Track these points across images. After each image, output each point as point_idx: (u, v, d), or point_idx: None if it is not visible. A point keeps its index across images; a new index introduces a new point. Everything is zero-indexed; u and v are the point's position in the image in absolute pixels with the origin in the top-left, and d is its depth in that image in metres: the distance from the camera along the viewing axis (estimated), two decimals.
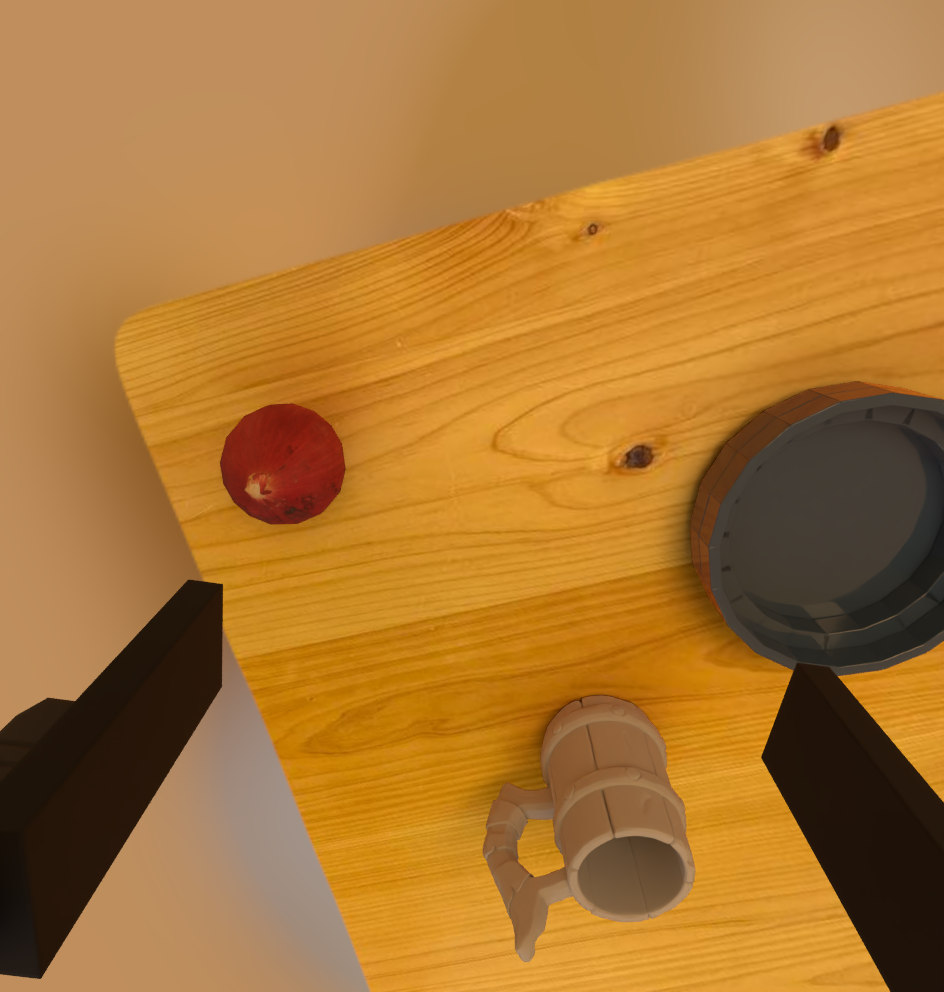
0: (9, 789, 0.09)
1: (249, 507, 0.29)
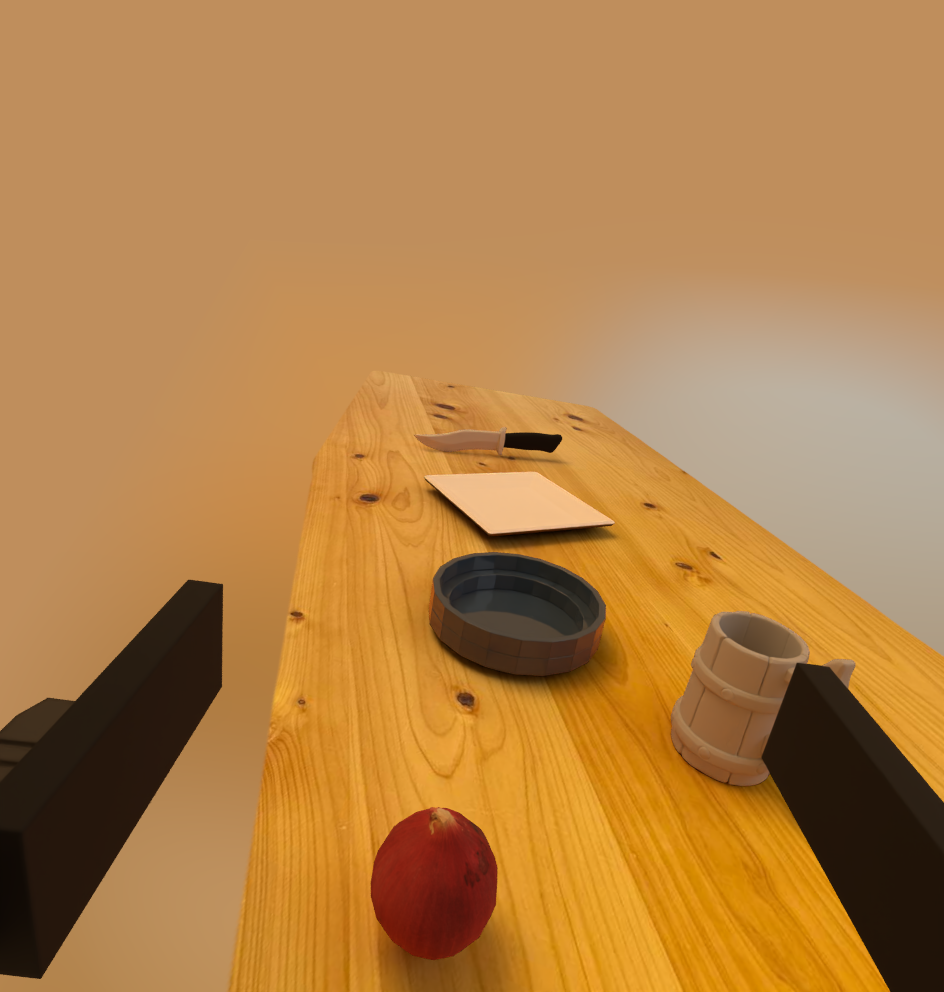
0: (9, 789, 0.09)
1: (466, 856, 0.28)
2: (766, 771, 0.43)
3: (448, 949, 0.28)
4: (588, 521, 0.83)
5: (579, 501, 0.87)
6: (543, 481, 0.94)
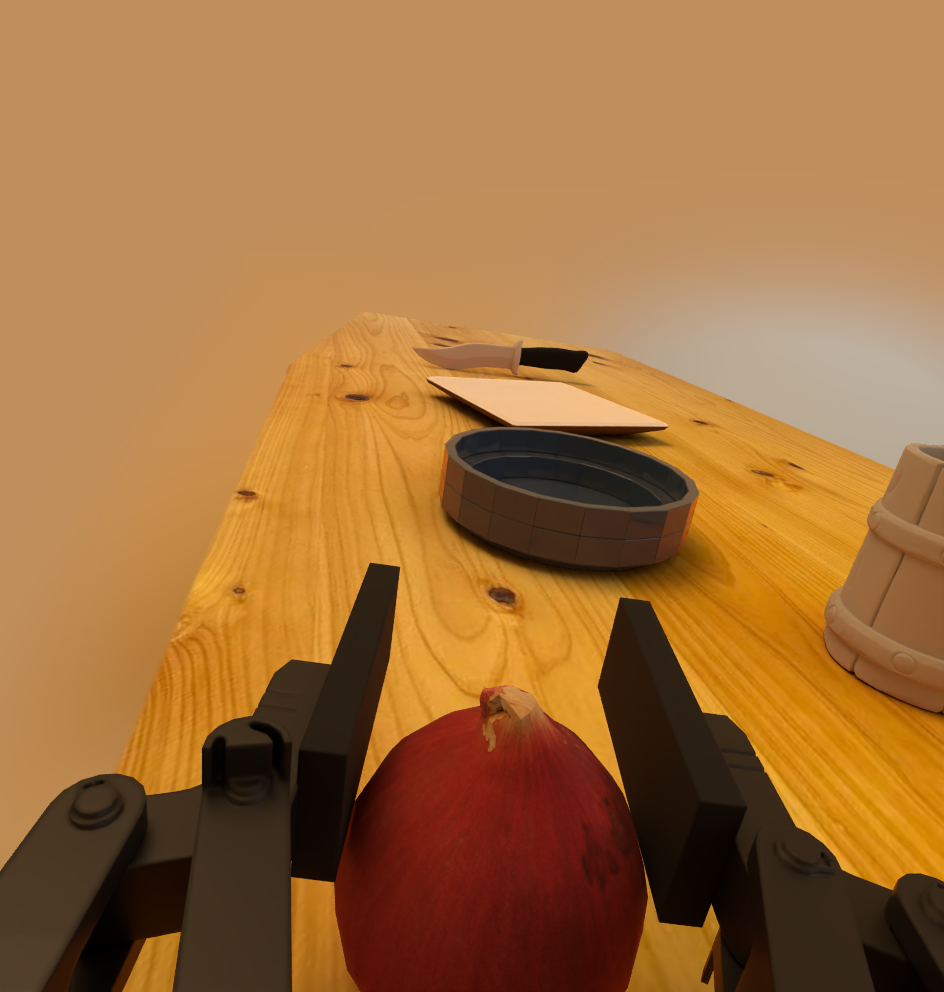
0: (321, 724, 0.10)
1: (583, 807, 0.11)
2: None
3: None
4: None
5: (620, 407, 0.70)
6: (572, 390, 0.76)
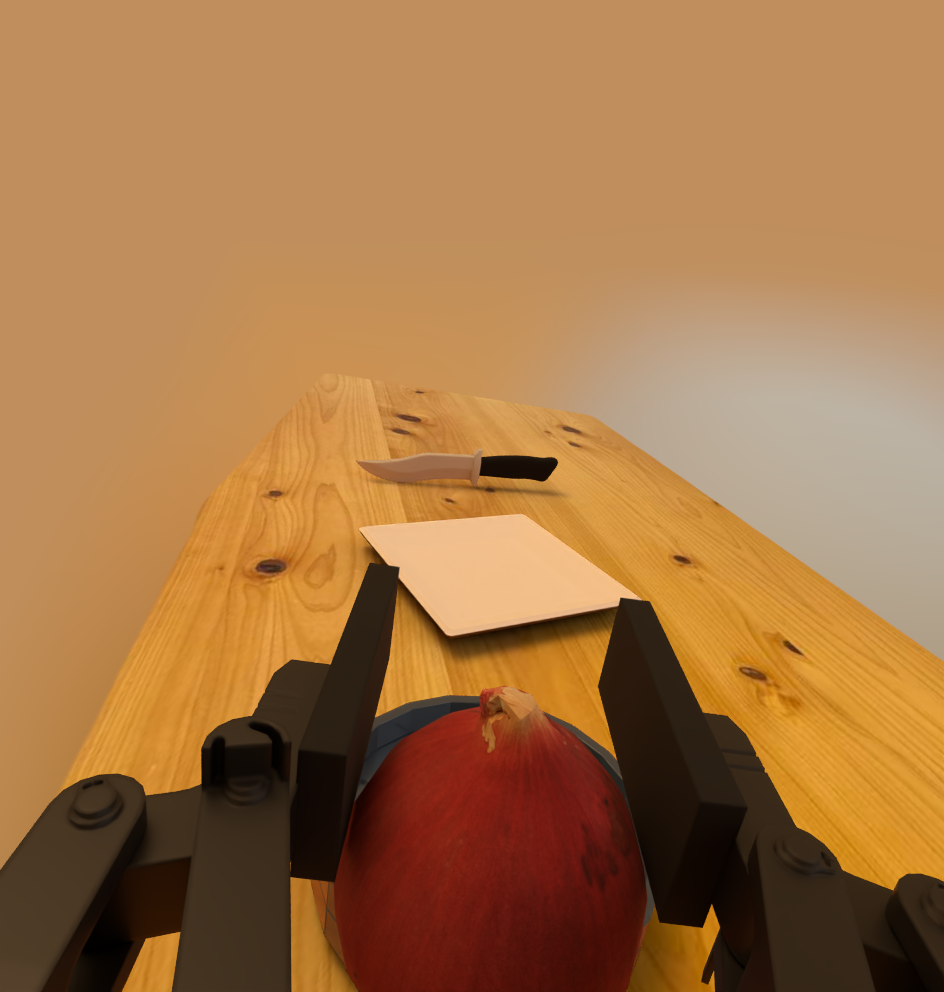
0: (320, 724, 0.10)
1: (583, 808, 0.11)
2: None
3: None
4: (601, 597, 0.56)
5: (586, 562, 0.60)
6: (533, 529, 0.66)
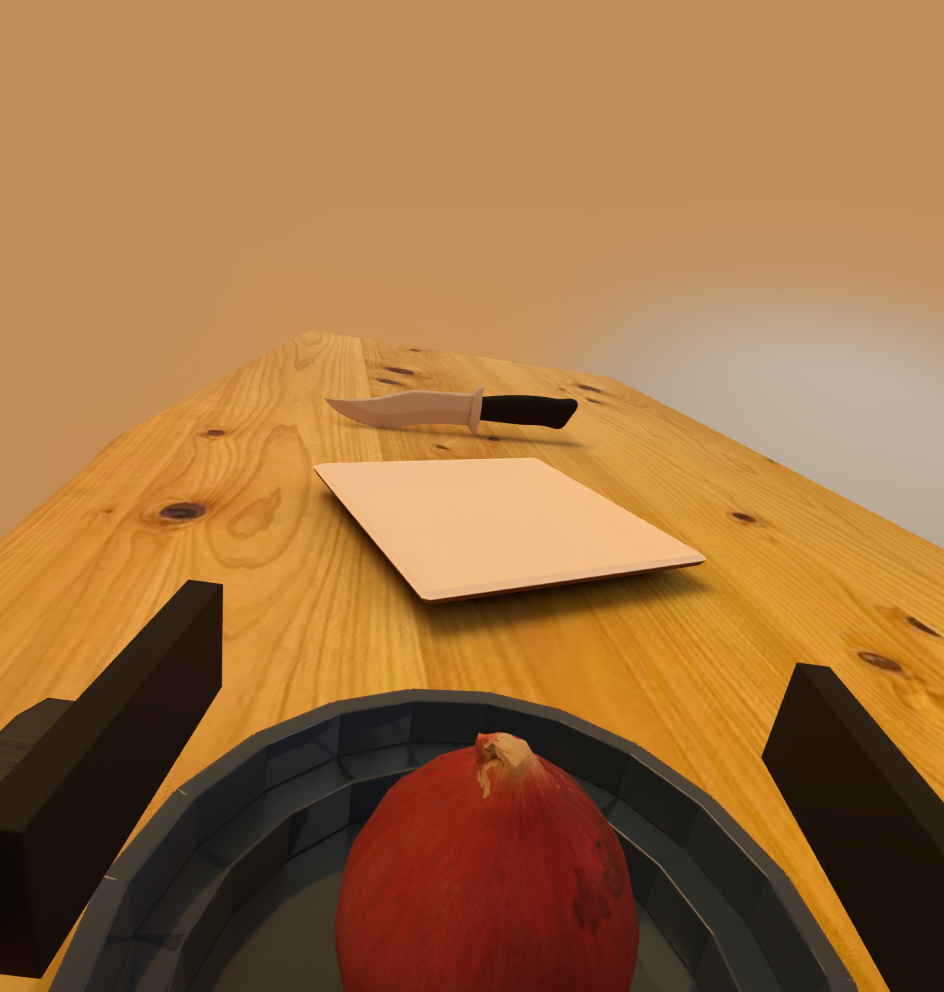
0: (9, 789, 0.09)
1: (576, 853, 0.11)
2: None
3: None
4: (648, 555, 0.40)
5: (623, 512, 0.44)
6: (549, 474, 0.50)
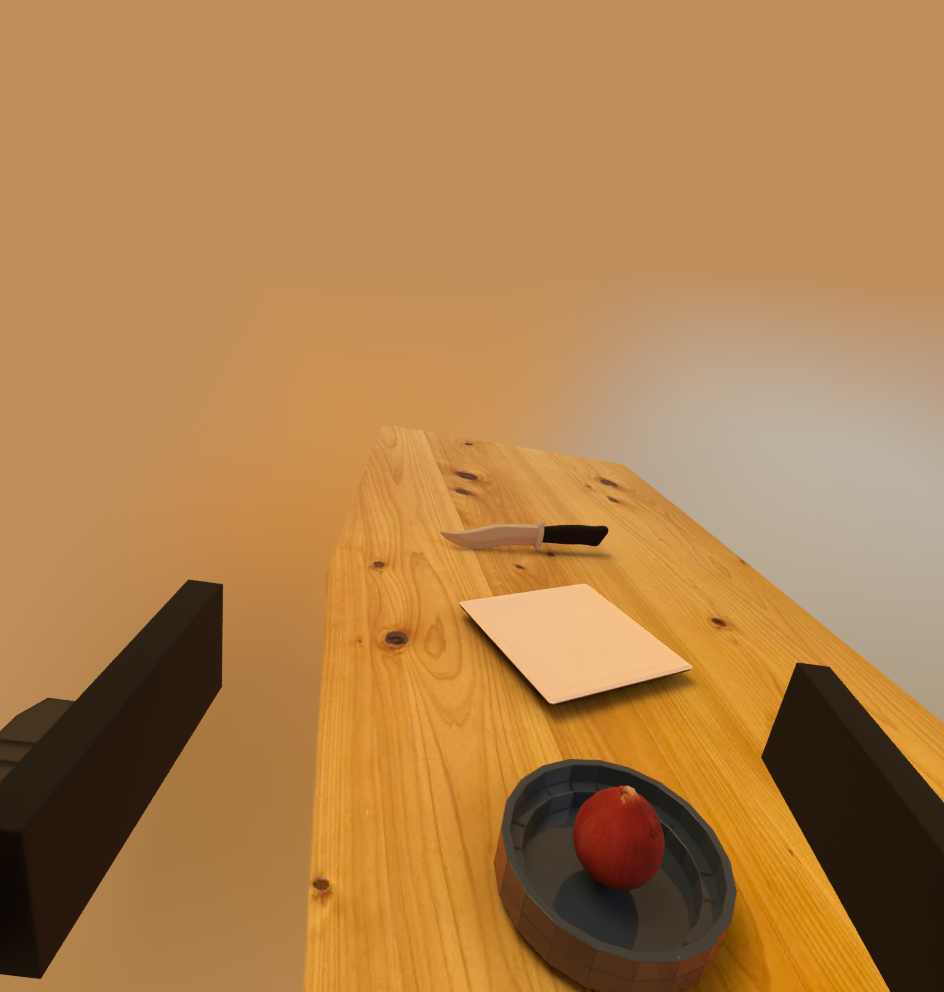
0: (10, 789, 0.09)
1: (648, 819, 0.41)
2: None
3: (638, 882, 0.40)
4: (659, 663, 0.69)
5: (644, 631, 0.73)
6: (596, 598, 0.80)
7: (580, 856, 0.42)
